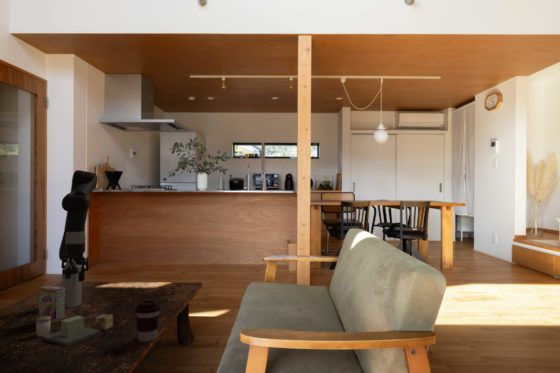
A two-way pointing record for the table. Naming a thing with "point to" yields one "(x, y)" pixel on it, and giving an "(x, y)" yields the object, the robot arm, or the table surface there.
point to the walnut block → (56, 324)
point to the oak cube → (104, 321)
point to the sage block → (72, 326)
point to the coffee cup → (147, 320)
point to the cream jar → (43, 326)
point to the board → (72, 339)
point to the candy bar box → (52, 302)
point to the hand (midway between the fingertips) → (74, 280)
